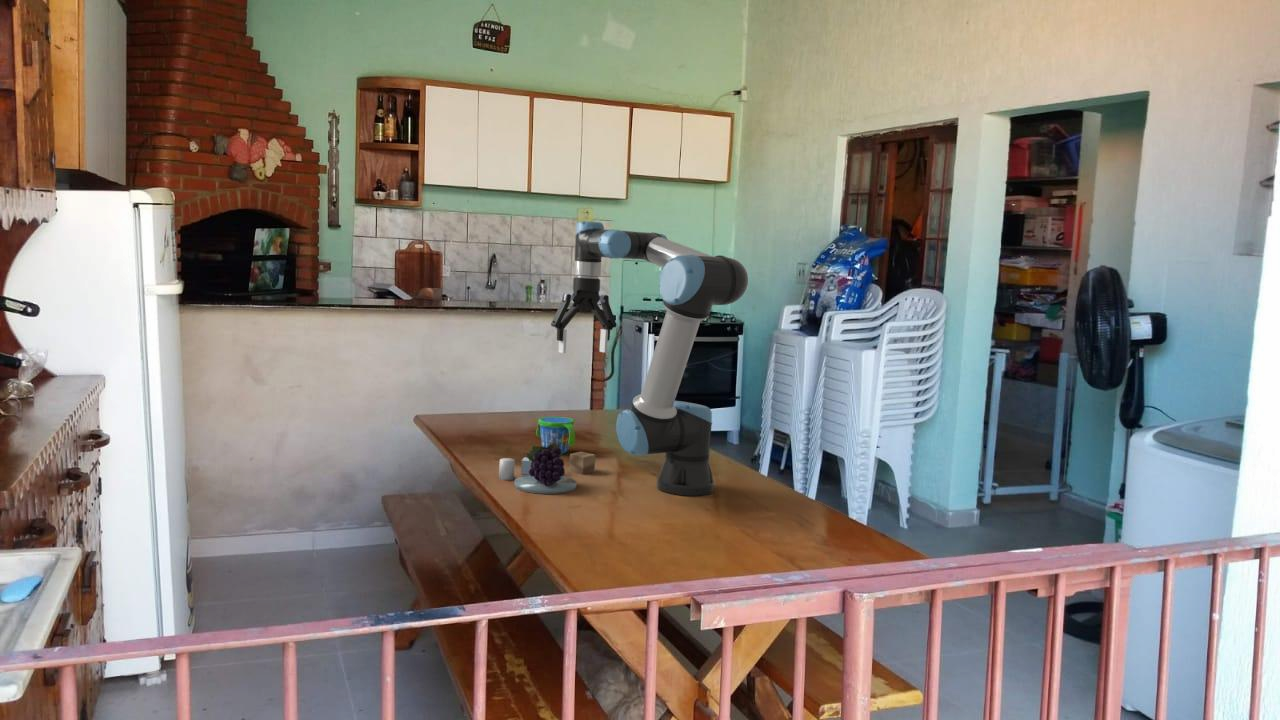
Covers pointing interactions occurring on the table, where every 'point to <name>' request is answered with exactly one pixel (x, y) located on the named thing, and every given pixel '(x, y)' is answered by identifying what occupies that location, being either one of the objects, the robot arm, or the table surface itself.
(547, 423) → the snack cup
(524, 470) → the dusty blue block
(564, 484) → the plate
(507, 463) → the grey plastic peg
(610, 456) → the table surface
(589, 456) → the walnut block
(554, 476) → the fruit
